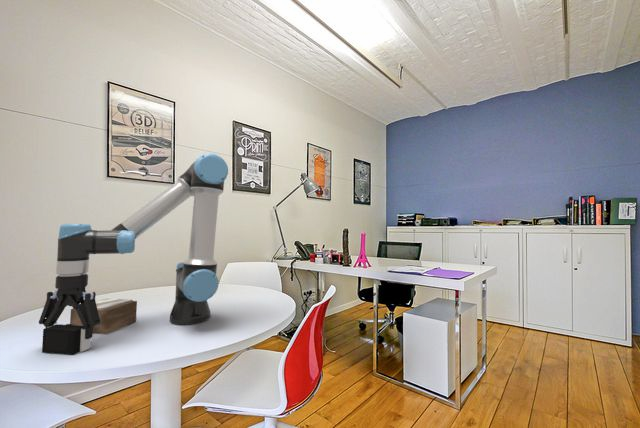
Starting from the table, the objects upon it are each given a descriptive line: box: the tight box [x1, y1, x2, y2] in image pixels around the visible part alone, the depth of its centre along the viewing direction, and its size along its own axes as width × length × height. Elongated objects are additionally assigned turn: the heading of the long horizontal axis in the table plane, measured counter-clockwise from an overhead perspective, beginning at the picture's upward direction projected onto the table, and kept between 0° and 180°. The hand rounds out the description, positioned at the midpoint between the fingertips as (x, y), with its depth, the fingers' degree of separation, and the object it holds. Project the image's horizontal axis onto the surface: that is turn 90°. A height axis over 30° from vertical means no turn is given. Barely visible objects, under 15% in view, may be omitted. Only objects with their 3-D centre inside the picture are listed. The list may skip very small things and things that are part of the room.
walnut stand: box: [69, 298, 138, 335], centre depth 109 cm, size 14×14×9 cm
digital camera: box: [41, 323, 84, 356], centre depth 88 cm, size 10×5×7 cm, turn 83°
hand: (68, 348), depth 88 cm, fingers open, 10 cm apart
